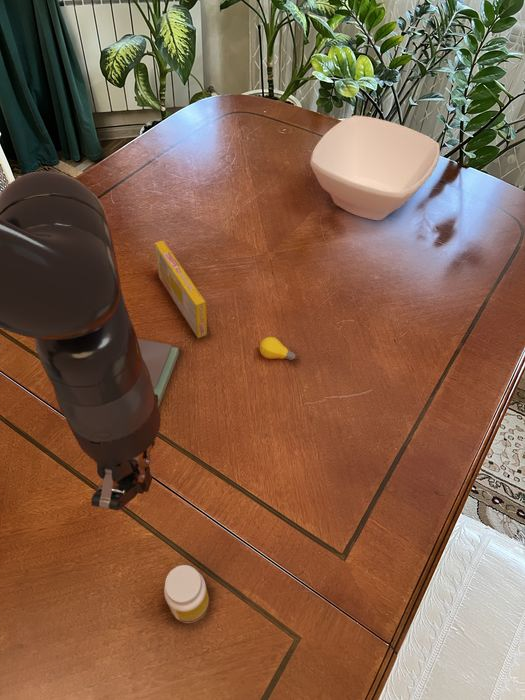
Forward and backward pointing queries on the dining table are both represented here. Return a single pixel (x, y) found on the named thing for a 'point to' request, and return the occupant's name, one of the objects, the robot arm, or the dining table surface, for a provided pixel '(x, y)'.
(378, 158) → the bowl
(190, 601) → the supplement bottle
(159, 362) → the scale pan
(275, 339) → the light bulb
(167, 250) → the candy box
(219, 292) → the dining table surface
